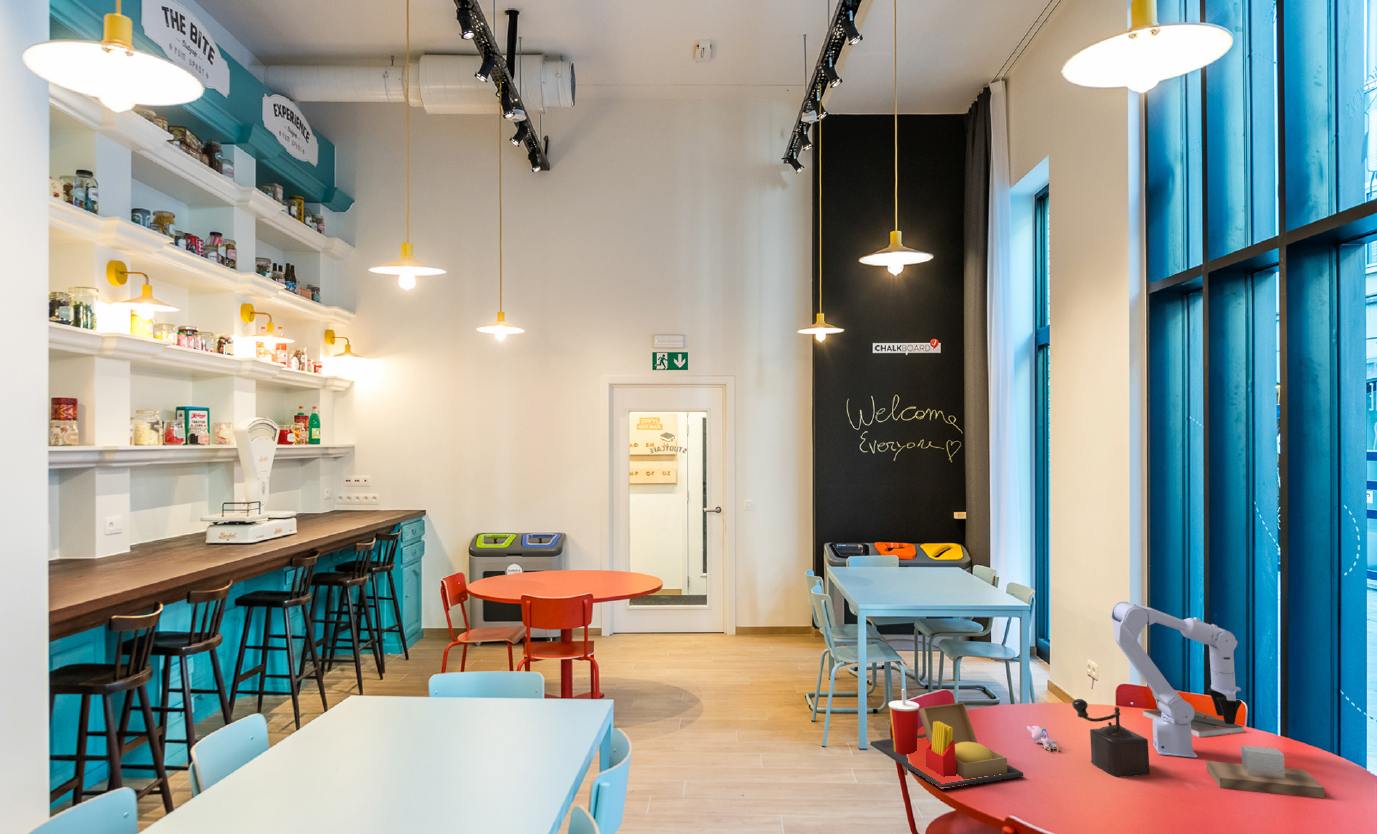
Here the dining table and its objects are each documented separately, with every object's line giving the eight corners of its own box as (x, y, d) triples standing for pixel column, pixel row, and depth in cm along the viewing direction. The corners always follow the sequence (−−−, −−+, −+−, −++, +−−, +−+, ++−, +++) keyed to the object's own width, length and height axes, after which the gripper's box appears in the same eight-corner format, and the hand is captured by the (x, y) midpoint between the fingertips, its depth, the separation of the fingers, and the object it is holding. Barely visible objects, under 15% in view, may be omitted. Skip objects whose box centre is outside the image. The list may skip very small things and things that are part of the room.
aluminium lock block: (1248, 775, 202) (1246, 751, 202) (1242, 768, 206) (1240, 745, 206) (1285, 778, 199) (1283, 754, 199) (1278, 772, 203) (1277, 748, 203)
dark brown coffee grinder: (1123, 759, 221) (1119, 694, 222) (1151, 774, 210) (1147, 705, 211) (1072, 763, 218) (1068, 697, 220) (1097, 778, 207) (1094, 709, 209)
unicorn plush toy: (1064, 757, 227) (1039, 731, 242) (1065, 737, 226) (1040, 712, 241) (1043, 757, 227) (1019, 732, 242) (1044, 738, 226) (1020, 713, 241)
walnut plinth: (1220, 787, 200) (1219, 777, 200) (1206, 770, 212) (1206, 760, 212) (1324, 798, 193) (1323, 787, 193) (1305, 779, 204) (1304, 769, 204)
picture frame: (1243, 734, 241) (1184, 713, 262) (1243, 726, 241) (1184, 705, 262) (1199, 739, 237) (1143, 717, 258) (1198, 731, 237) (1142, 709, 258)
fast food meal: (941, 793, 201) (938, 719, 202) (870, 748, 234) (868, 685, 236) (1023, 780, 209) (1020, 708, 210) (943, 737, 242) (941, 676, 243)
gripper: (1247, 678, 217) (1250, 728, 216) (1231, 665, 231) (1234, 713, 230) (1217, 676, 219) (1220, 726, 218) (1203, 664, 233) (1206, 711, 232)
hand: (1225, 719), depth 224 cm, fingers open, 7 cm apart
